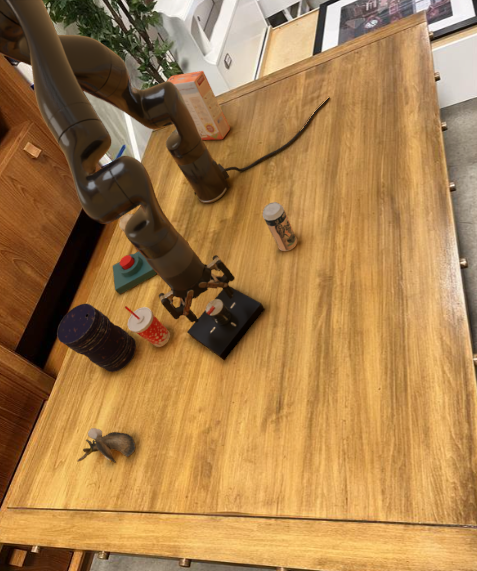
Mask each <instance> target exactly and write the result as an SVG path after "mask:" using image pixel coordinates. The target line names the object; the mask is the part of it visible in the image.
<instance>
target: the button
mask: <svg viewBox="0 0 477 571" xmlns="http://www.w3.org/2000/svg"><path fill="white" fill-rule="evenodd" d="M119 262H120V265H121V266H122V267H123V268H124V269H129V268H131V267H132V266H133V265H134V262H135V261H134V259H133V258H132V257H131V256H130V254H126V255H124V256H123V257H121V259H120V260H119Z"/></svg>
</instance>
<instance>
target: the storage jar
mask: <svg viewBox="0 0 477 571" xmlns="http://www.w3.org/2000/svg"><path fill="white" fill-rule="evenodd" d="M56 335H57V336H56V337H57V339H58V341H59V342H60V343H61V344H64V346H67V348H69V349H71V350H72V351H73V352H75V353H77V354H79V355H83V356H85V357H86V358H88V360H90V361H91V362H92V363H93V364H95V365H96V366H97V367H100V368H102V369H103V370H104V371H107V372H110V373H115V372H120V371H121V370H123V369H124V368H125V367H127V366H128V365H129V364H130V363H131V361H132V360H133V358H134V357H135V354H136V350H137V342H136V340H135V338H134V337H133V336H131V335H130V334H129V333H128V332H127V331H126V330H125V329H123V328H122V327H121V326H119V325H117V324H114V323H113V322H112V321H111V320H110V318H109V317H108V316H107V315H105V314H104V313H103V312H102V311H101V310H98V309H97V308H96V307H94V306H93V305H92V304H90V303H81V304H78V305H76V306H74V307H73V308H71V309H70V310H69V311H68V312H66V314H65V315H64V316H63V318H62V319H61V321H60V322H59V324H58V327H57V332H56Z"/></svg>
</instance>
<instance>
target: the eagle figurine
mask: <svg viewBox="0 0 477 571" xmlns="http://www.w3.org/2000/svg"><path fill="white" fill-rule="evenodd" d="M87 436H88V437H89V438H90V439H92V441H91V440H89V439H85V442H86V443H87V444H88V445H89V448H88V447H87V448H86V447H85V448H83V449H82V452H83V453H84V454H83V455H82V456H81V457H80V458H78V459H77V460H76V461H77V462H81V461H83V460H85V459H86V458H87V457H88V456H89V455H91V454H92V453H95V452H99V453H100V454H101V455H102V456H103V457H104V458H105V459H106V460H107V461H109V463H110V464H111V463H112V462H113V463H117V461H116V460H115V458H114V456H113V453H112V450H114V451H117V452H120V453H121V454H122V455H124V456H125V457H127V458H128V457H130V456H131V455H132V454H133V453H134V452H135V450H136V446H135V445H136V443H135V442H134V441H135V440H134V439H133V436H131V435H130V434H128V433H124V432H117V431H112V432H108V433H107V434H105V435H103V430H102V429H100V428H97V427H91V428H90V429H89V430H88V432H87Z"/></svg>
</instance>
